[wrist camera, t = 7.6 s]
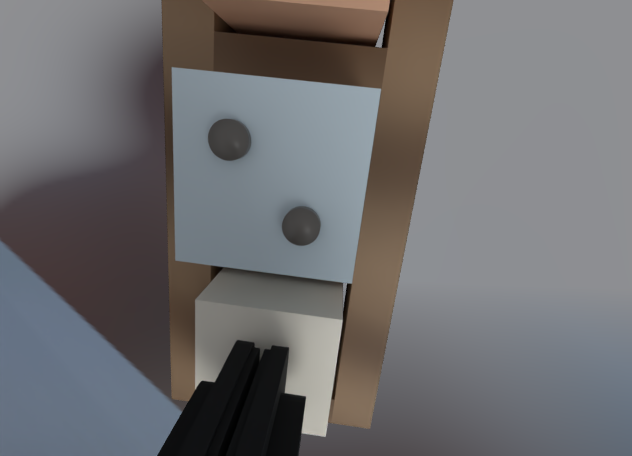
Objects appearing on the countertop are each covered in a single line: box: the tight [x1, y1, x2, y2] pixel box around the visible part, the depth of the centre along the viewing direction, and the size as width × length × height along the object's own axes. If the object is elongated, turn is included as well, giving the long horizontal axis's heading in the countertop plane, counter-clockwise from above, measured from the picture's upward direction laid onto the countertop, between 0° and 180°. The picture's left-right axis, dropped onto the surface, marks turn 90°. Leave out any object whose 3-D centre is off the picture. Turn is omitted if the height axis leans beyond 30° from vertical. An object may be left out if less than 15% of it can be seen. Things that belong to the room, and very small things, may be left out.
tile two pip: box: [172, 67, 381, 284], centre depth 9 cm, size 5×5×4 cm
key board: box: [162, 0, 453, 429], centre depth 12 cm, size 20×8×2 cm, turn 174°
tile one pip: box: [195, 267, 343, 437], centre depth 12 cm, size 5×5×4 cm
